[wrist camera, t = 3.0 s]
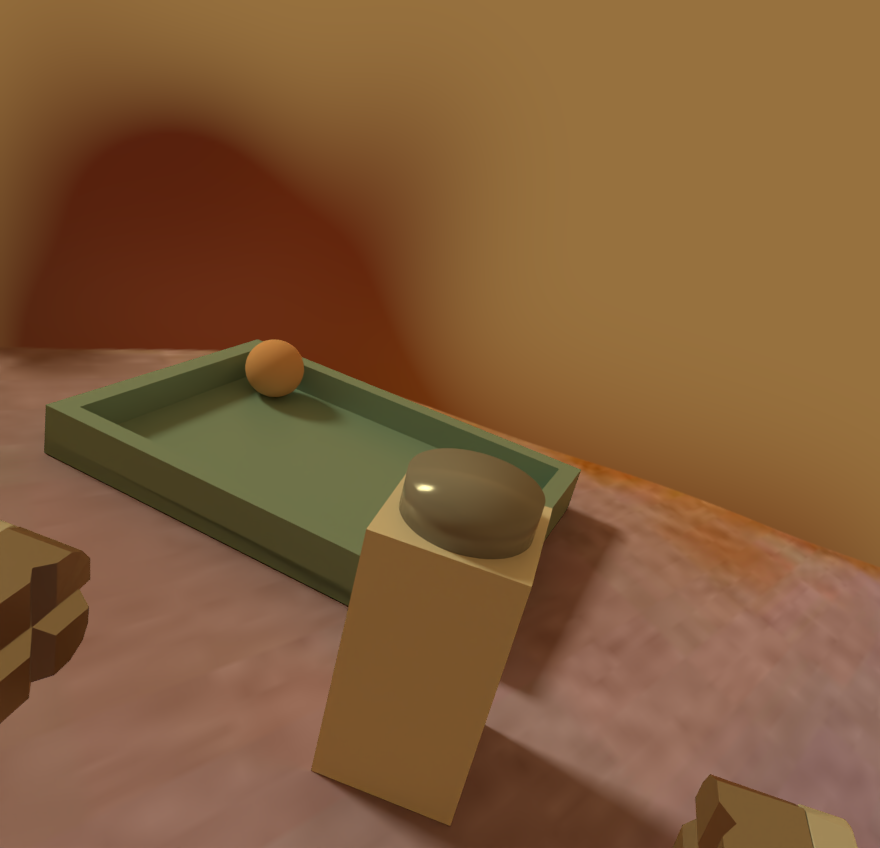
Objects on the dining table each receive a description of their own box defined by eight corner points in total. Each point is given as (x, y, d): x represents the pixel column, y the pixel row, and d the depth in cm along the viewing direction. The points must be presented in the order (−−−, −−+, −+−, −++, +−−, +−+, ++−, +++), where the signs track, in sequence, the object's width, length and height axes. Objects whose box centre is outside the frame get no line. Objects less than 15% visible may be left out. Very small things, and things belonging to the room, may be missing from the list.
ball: (229, 391, 46) (237, 337, 45) (264, 378, 49) (272, 327, 48) (277, 412, 45) (286, 357, 44) (309, 397, 48) (319, 345, 47)
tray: (44, 452, 37) (45, 404, 36) (252, 375, 51) (257, 339, 50) (459, 662, 30) (475, 611, 30) (567, 507, 44) (581, 469, 43)
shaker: (311, 770, 24) (375, 490, 20) (360, 676, 29) (422, 429, 25) (450, 826, 24) (544, 548, 20) (480, 721, 28) (563, 475, 24)
